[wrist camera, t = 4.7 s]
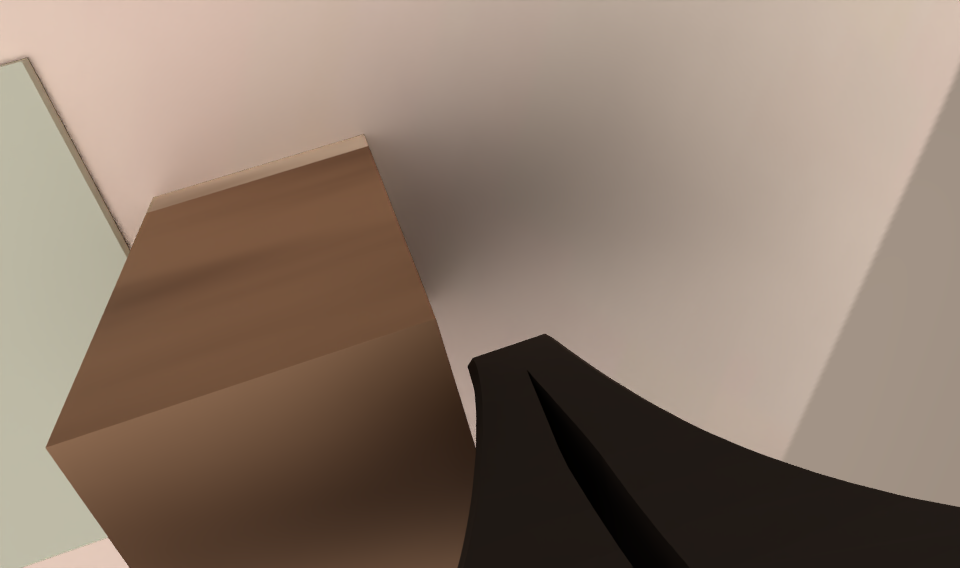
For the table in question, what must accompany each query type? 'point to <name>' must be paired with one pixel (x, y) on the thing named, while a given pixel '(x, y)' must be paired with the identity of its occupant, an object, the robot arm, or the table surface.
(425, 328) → the walnut block
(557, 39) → the table surface
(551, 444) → the robot arm
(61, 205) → the sage mat
